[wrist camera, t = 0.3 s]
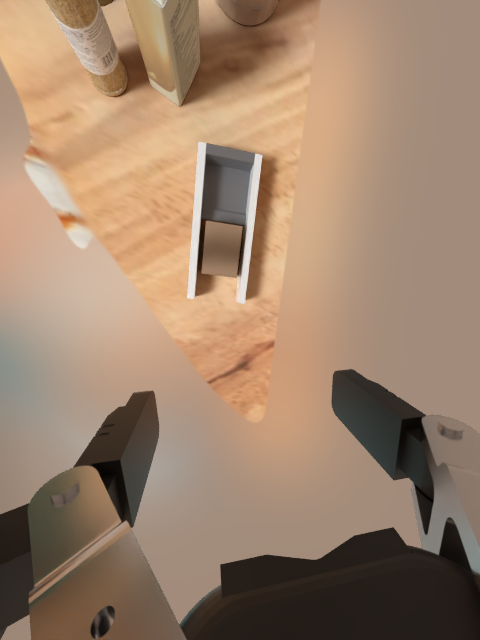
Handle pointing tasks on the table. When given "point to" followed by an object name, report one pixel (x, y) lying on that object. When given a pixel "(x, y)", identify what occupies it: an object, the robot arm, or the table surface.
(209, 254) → the walnut block
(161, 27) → the skincare box
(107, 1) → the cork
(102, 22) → the sprinkles bottle
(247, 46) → the table surface
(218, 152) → the trap channel
